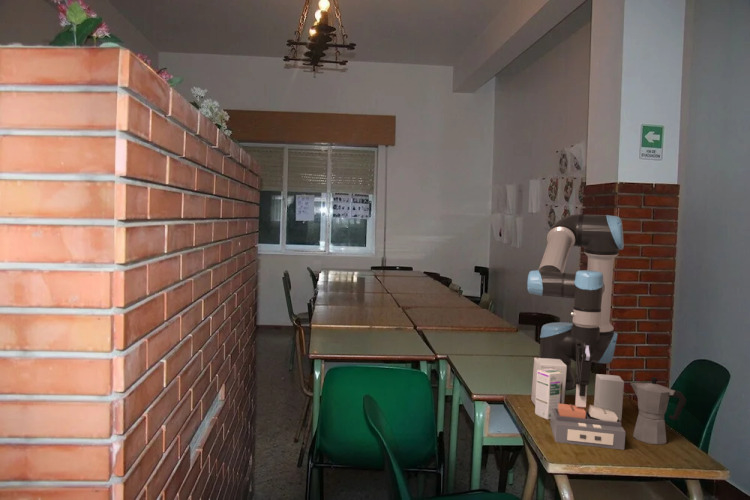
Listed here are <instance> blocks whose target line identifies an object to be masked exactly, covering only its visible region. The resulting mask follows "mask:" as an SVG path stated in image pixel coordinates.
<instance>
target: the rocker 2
mask: <svg viewBox="0 0 750 500" xmlns="http://www.w3.org/2000/svg"><path fill="white" fill-rule="evenodd" d="M587 412H589V414H590V416H591V417H594V418H597V419H600V420H605V421H614V422H617V420H618V417H617V416H616V414H615V413H614V412H612V411H609V410H606V409H604V408H602V407H601V408H600V407H596V406H594V404H589V406H588V409H587Z"/></svg>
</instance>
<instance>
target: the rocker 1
mask: <svg viewBox="0 0 750 500" xmlns="http://www.w3.org/2000/svg"><path fill="white" fill-rule="evenodd" d="M586 412H587V411H586V409H585V407H578V406H576V405H575V404H572V403H569V404H567V403H564V404H561V403H558V413H559V415H560V416H567V417H577V418H585V417H586Z"/></svg>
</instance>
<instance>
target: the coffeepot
mask: <svg viewBox="0 0 750 500" xmlns="http://www.w3.org/2000/svg"><path fill="white" fill-rule="evenodd" d="M657 382H658V378H657V377H655V376H653V377H651V382H643V383H642V382H631V383H630V384H629V385H630V386H631V388H632V389H633V391H634V393H635V394H636V397H637V406H638V407H637V408H638V414H637V418H636V422H635V426H634V429H633V435H632V436H633V438H634V439H635V440H637V441H639V442H642V443H646V444H648V445H664V444H667V443H668V442H667V432H666V421H665V414H666V412H667V409H668V404H669V400H670V398H677V399H678V400H679V401H678V402H677V405H676V408H675V410H674V412H673V413H674V414H673V415H668V418H669V419H670V420H673V421H677V420H679V417H680V415H681V413H682V411H683V409H684V407H685V405H686V404H687V398H686V397H685V395H684V394H683V393H682V392H681V391H679V390H674V389H671V388H669V387H667V386H664V385H661V384H658V383H657Z"/></svg>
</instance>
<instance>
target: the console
mask: <svg viewBox="0 0 750 500" xmlns="http://www.w3.org/2000/svg"><path fill="white" fill-rule="evenodd" d="M549 421H550V423H549V424H550V425H549V426H550V428H551V431H552V436H553V438H554V441H555V443H562V444H570V445H580V446H586V447H587V446H588V447H596V448H604V449H605V448H606V449H614V450H620V451H621V450H622V451H624V450H625V445H626V431H625V429H624V427H623V426H622V421H620V420H619V419H618V420H617V422H614V421H605V420H600V419H597V418H594V417H591V416H590V414H589V412H588V411H586V417H585V418H577V417H567V416H560V415H559V413H558V409H557V408H554V409H553V408H551V419H549Z"/></svg>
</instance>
